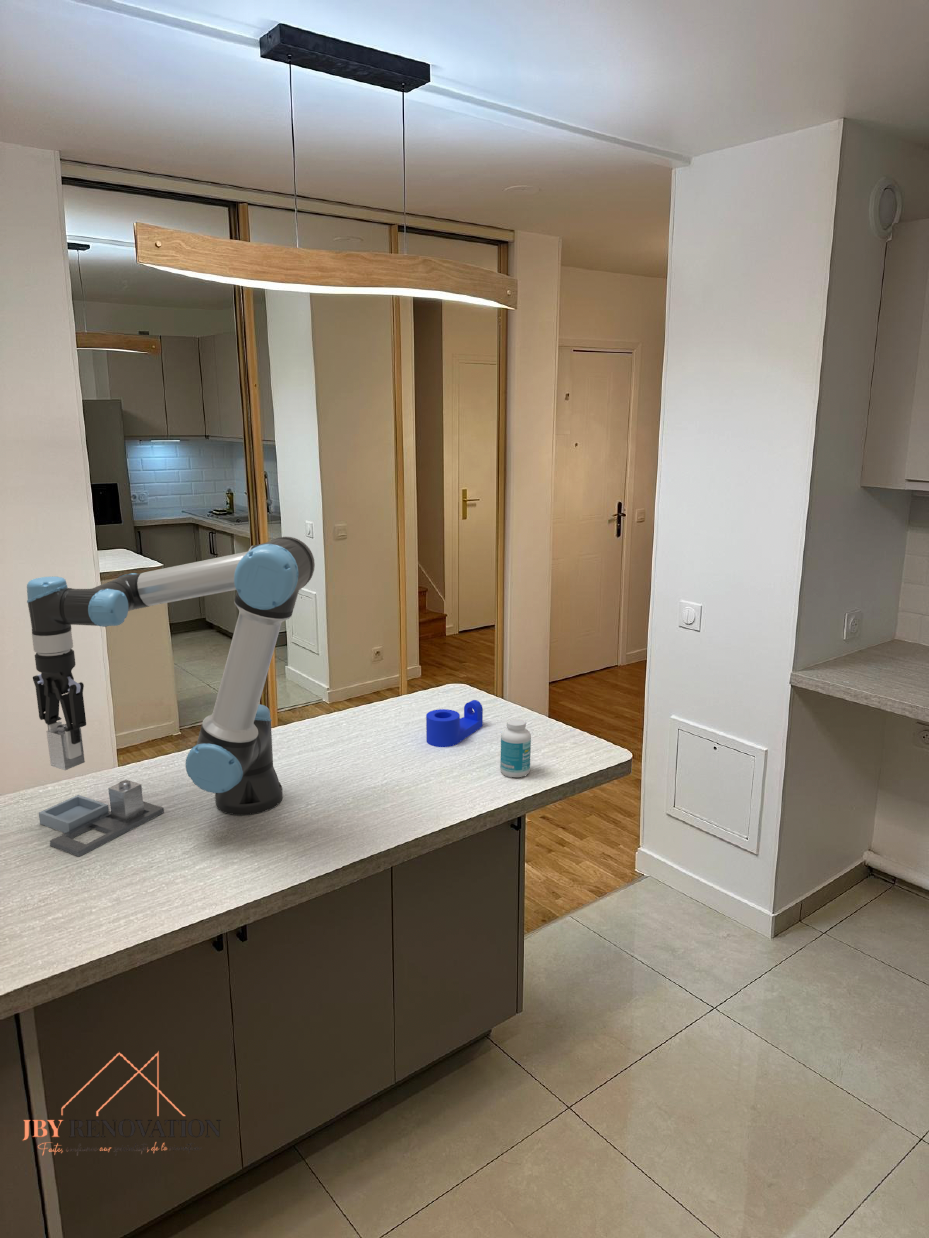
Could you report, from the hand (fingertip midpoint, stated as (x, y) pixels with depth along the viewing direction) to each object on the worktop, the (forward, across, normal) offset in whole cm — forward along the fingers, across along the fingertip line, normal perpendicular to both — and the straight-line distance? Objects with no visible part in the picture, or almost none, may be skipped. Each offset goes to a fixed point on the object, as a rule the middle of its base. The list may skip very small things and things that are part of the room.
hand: (66, 753), depth 185 cm
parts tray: (+16, 0, 0) cm, 16 cm away
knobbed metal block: (+2, 0, 0) cm, 2 cm away
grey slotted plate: (+16, -10, -1) cm, 19 cm away
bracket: (+16, -49, -84) cm, 99 cm away
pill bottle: (+16, -74, -70) cm, 103 cm away
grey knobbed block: (+16, -10, -6) cm, 20 cm away
